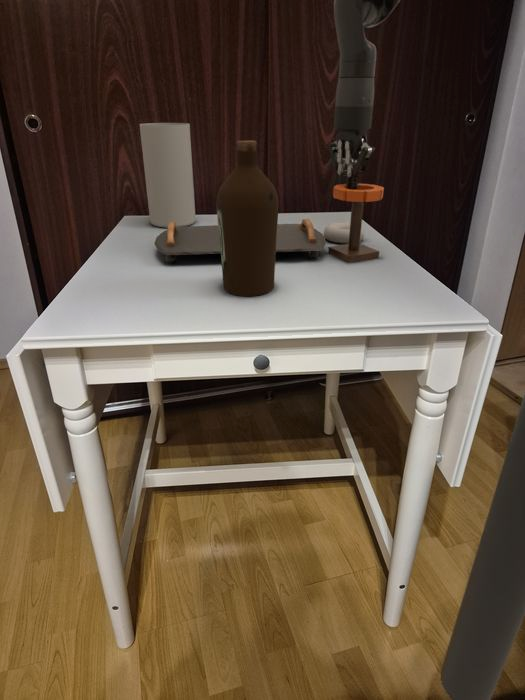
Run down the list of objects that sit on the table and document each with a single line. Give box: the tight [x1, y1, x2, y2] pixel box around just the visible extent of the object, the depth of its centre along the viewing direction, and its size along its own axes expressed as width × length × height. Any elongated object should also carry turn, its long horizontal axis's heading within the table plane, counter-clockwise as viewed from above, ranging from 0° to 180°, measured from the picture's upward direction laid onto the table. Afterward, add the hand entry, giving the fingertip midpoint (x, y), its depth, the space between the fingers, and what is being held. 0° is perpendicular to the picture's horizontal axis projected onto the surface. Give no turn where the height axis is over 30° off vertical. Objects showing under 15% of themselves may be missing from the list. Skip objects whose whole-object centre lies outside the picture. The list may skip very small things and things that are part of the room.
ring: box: [332, 183, 385, 203], centre depth 101 cm, size 10×10×2 cm
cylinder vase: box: [139, 122, 196, 229], centre depth 129 cm, size 12×12×25 cm
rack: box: [327, 201, 381, 264], centre depth 104 cm, size 8×8×14 cm
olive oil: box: [215, 139, 280, 297], centre depth 84 cm, size 11×11×25 cm
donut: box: [323, 222, 366, 244], centre depth 118 cm, size 10×4×10 cm
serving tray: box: [154, 218, 327, 265], centre depth 110 cm, size 39×23×6 cm, turn 96°
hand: (347, 193), depth 104 cm, fingers closed on ring, 2 cm apart
